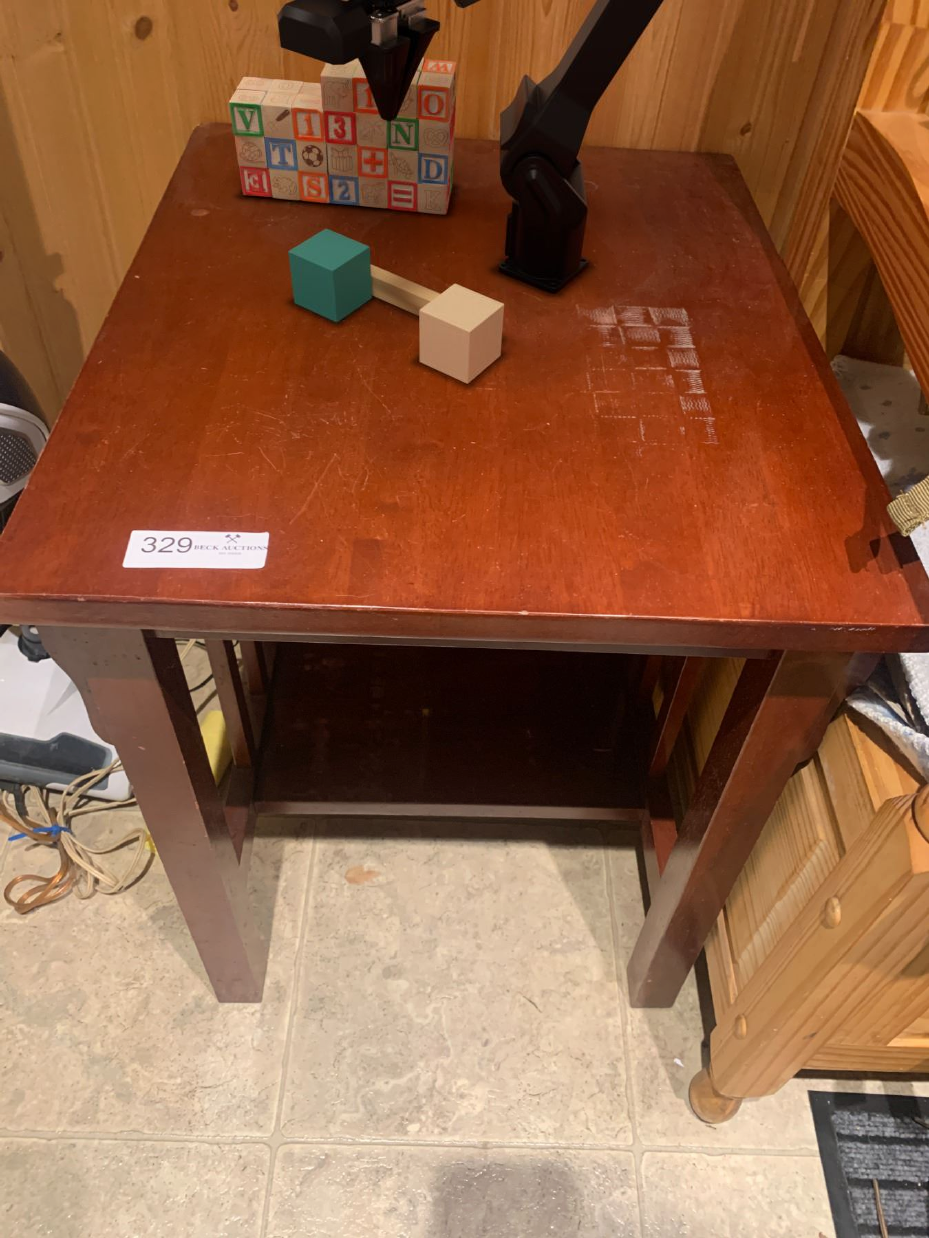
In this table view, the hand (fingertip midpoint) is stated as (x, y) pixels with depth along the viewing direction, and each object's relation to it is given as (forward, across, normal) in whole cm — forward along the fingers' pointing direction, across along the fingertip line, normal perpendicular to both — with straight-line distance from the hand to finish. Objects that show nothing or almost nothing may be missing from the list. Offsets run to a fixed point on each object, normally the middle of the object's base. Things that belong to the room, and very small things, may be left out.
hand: (388, 119), depth 77 cm
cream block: (+13, +9, +14) cm, 21 cm away
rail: (+13, +5, +6) cm, 15 cm away
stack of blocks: (+13, -8, -12) cm, 19 cm away
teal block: (+13, +8, 0) cm, 16 cm away
